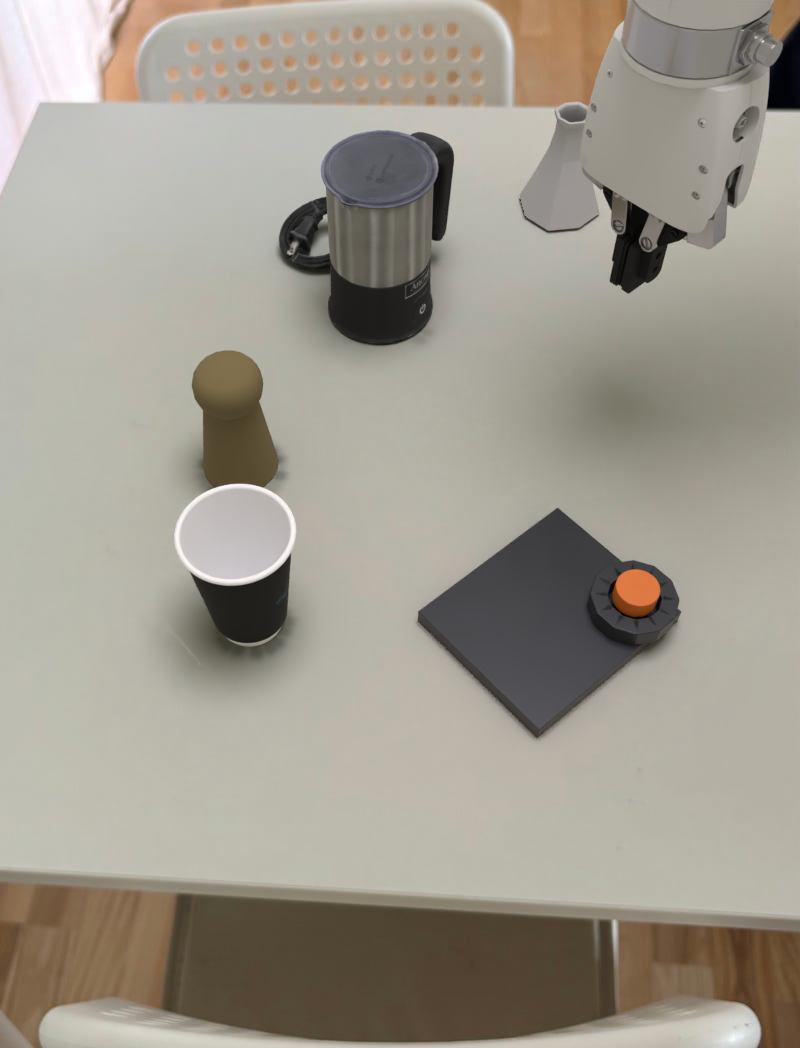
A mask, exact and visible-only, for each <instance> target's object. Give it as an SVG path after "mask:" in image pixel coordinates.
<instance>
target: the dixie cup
mask: <svg viewBox="0 0 800 1048" xmlns="http://www.w3.org/2000/svg"><path fill="white" fill-rule="evenodd" d="M174 528H175V529H174V531H173V532H174V534H173V545H174V549H175V553H176V555H177V557H178V559H179V561H180V562H181V564H182V565H183V566H184V567H185V569H186V570H188V571H189V573H190V575H191V578H192V580H193V582H194V584H195V586H196V588H197V590H198V592H199V594H200V596H201V598H202V600H203V603H204V605H205V607H206V609H207V611H208V613H209V616H210V618H211V620H212V622H213V624H214V626H215V627H216V629H217V630H218V632H219V633H220V634H221V635H222V636H224V637H225V638H226V639H227V640H228V641H230V642H231V643H233V644H235V645H238V646H242V647H256V646H260V645H263V644H266V643H267V642H269V641H271V640H272V639H274V638H275V637H276V636H277V635H278V633H280V631H281V629H282V627H283V625H284V623H285V621H286V619H287V616H288V608H289V607H288V606H289V593H290V592H289V591H290V577H291V564H292V563H291V561H292V552H293V549H294V547H295V544H296V541H297V523H296V518H295V516H294V514H293V512H292V510H291V507H290V506H288V504H287V502H286V501H285V500H283V499H282V498H281V497H280V496H279V495H277V494H276V493H275V492H273V491H271V490H270V489H267V488H265V487H259V486H255V485H250V484H229V485H224V486H219V487H214V488H211V489H207V490H206V491H205V492H202V493H201V494H200V495H198V496H196V497H195V498H193V499H192V501H190V502H189V503H188V504H187V505H186V507H184V509H183V510H182V512H181V514H180V515H179V517H178V518H177V522H176V524H175V527H174Z"/></svg>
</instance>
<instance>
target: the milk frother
mask: <svg viewBox="0 0 800 1048" xmlns="http://www.w3.org/2000/svg"><path fill="white" fill-rule="evenodd" d="M454 152H455V151H454V149H453V147H452V145H451V144H450V143H449V142H448V141H446V140H444V139H442V138H441V137H439V136H437V135H434V134H431V133H427V132H423V131H416V132H413V133H410V134H409V133H405V132H401V131H394V130H387V129H385V130H382V129H377V130H371V131H364V132H360V133H359V132H358V133H355V134H352V135H349V136H347V137H346V138H344V139H343V138H342V140H340V141H338V142H337V143H335V144H334V145H333V146H331V148H330V149H329V150H328V152H327V153H326V154H325V156H324V157H323V160H322V162H321V165H320V176H321V179H322V182H323V184H324V186H325V196H323V197H319V198H316V199H313V200H310V201H308V202H306V203H304V204H302V205H300V206H299V207H297V208H296V209H295V210H293V211H292V212H291V213H290V214H289V215H288V216H287V217H286V219H285V220H284V221H283V223H282V225H281V228H280V232H279V235H278V244H279V248H280V250H281V251H280V252H281V253H282V255H283V256H284V257H285V259H286V260H287V261H289V262H290V264H293V265H294V266H296V267H297V268H298V267H299V268H301V269H305V270H307V271H308V270H309V271H316V272H318V271H319V272H320V271H323V270H329V272H330V277H329V278H330V294H329V297H328V302H327V311H328V314H329V318H330V320H331V322H332V323H333V324H334V326H335V327H336V328H337V329H338V330H339V331H340V332H341V333H343V334H344V335H346V336H347V337H348V338H350V339H353V340H356V341H358V342H363V343H368V344H377V345H378V344H383V345H385V344H391V343H396V342H401V341H404V340H407V339H408V338H411V337H413V336H414V335H415V334H417V333H418V332H419V331H421V330H422V329H423V328H424V327H425V325H426V324H427V323H428V322H429V320H430V318H431V317H432V316H431V315H432V313H433V308H434V301H433V295H432V293H431V291H432V290H431V263H432V261H431V260H432V244H433V243H432V241H434V242H440V241H442V240H443V238H444V236H445V235H446V232H447V227H448V218H449V209H450V200H451V192H452V182H453V175H454V165H455V153H454ZM324 216H327V217H326V218H327V234H328V249H329V253H326V254H322V255H315V256H314V255H307V254H303V253H301V252H299V250H302V251H303V252H306V253H310V252H311V245H312V244H313V241H314V238H315V235H316V233H317V232H318V231H319V230H320V228H319V224H320V223H321V222H322V221H323V219H324Z"/></svg>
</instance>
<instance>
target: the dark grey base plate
mask: <svg viewBox="0 0 800 1048" xmlns="http://www.w3.org/2000/svg"><path fill="white" fill-rule="evenodd" d="M633 569H638V570H643V571H646V572H648V573H650V574H651V575H653V576H654V577H655V578H656V580H657V581H658V583H659V585H660V596H659V598H658V601H657V603H656V606H655V608H654V609H653V611H652V612H651V613H649V614H647V615H645V616H642V617H631V616H628V615H625V614H623V613H622V612H620V611H619V610H618V609H617V608H616V606H615V605H614V603H613V600H612V593H613V590H614V587H615V584H616V581H617V579H618V577H619V576H620V575H621V574H622V573H624V572H626V571H628V570H633ZM679 605H680V596H679V593H678V592H677V589H676V587H675V584H674V582H673V580H672V579H671V578H670V577H668V576H667V575H666V574H665V573H664V572H663V571H661V570H660V569H659V568H657V566H656V565H652V564H648V563H645V562H642V561H638V560H635V559H632V560H625V561H622V560H621V559H620V558H618V557H617V556H616V555H615V554H614V553H612V552H611V551H610V550H609V549H608V548H607V547H606V546H604V545H603V544H602V543H601V542H599V541H598V540H597V539H596V538H594V537H593V535H591V534H590V533H589V532H588V531H586V530H585V529H584V528H583V527H582V526H580V525H579V524H578V523H577V522H576V521H574V520H573V518H571V517H569V516H568V514H567V513H565V512H564V511H563V510H561V509H560V508H559V507H556V508H555V509H553V510H552V511H550V512H549V513H548V514H547V515H545V516H544V517H542V519H540V520H539V521H537V522H536V523H534V524H533V525H532V526H531V527H529V528H528V529H527V530H525V531H524V532H522V533H521V534H520V535H519V536H517V537H516V538H514V539H513V540H512V541H511V542H509V543H508V544H506V545H505V546H504V547H503V548H501V549H500V550H498V551H497V552H496V553H494V554H493V555H492V556H490V557H489V558H487V560H485V561H483V562H482V563H481V564H480V565H479V566H477V567H475V569H473V570H472V571H470V572H469V573H468V574H466V575H465V576H463V577H462V578H461V579H459V580H458V581H457V582H455V583H454V584H453V585H451V586H450V587H449V588H448V589H446V590H445V591H443V592H442V593H441V594H439V595H438V596H437V597H435V598H434V599H433V600H432V601H430V602H429V603H427V604H426V605H424V606H423V607H422V608H421V609H420V610H418V611H417V622H418V623H419V624H420V625H421V626H422V627H423V628H424V629H425V630H426V631H427V632H428V633H429V634H430V635H431V636H432V637H433V638H434V639H435V640H437V642H438V643H440V644H441V645H442V647H444V648H445V649H446V651H448V652H449V654H451V655H452V656H453V657H454V658H455V659H456V660H457V661H458V662H459V663H460V664H461V665H462V666H463V667H464V668H465V669H466V670H467V671H468V672H469V673H470V674H471V676H473V677H474V678H475V679H477V681H478V682H479V683H480V684H482V686H483V687H484V688H485V689H487V691H488V692H489V693H491V695H492V696H493V697H494V698H495V699H496V700H497V701H499V703H501V704H502V705H503V706H504V708H506V710H507V711H508V712H510V713H511V714H512V715H513V716H514V717H515V718H516V719H517V720H518V722H520V723H521V724H522V725H523V726H524V727H525V728H526V729H527V730H528V731H529V732H530V733H531V734H532V735H533V736H534V737H535V738H536V739H538V738H540V736H542V735H543V734H545V732H547V731H548V730H549V729H550V728H551V727H553V726H554V725H555V724H556V723H558V721H560V720H561V719H562V718H563V717H564V716H566V715H567V714H569V712H571V711H572V710H573V709H575V707H577V706H578V705H579V704H580V703H581V702H582V701H584V700H585V699H586V698H587V697H588V696H590V695H591V694H592V693H593V692H594V691H596V690H597V689H598V688H599V687H601V686H602V685H603V684H604V683H605V682H607V681H608V680H609V679H610V678H611V677H612V676H614V675H615V674H616V673H617V672H619V671H620V670H621V669H622V668H623V667H625V666H626V665H627V664H628V663H629V662H631V660H633V659H634V658H635V657H637V656H638V655H639V654H640V653H642V651H644V650H645V649H647V647H649V646H650V645H651V644H652V643H655V642H657V641H658V640H659V639H661V638H662V637H663V636H664V635H666V634H667V633H668V632H669V631H670V630H671V629H672V627H673V626H674V625H675V624H676V623H678V620H679V618H680V616H681V614H682V611H681V610H680V609H679Z"/></svg>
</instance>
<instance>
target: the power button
mask: <svg viewBox="0 0 800 1048" xmlns="http://www.w3.org/2000/svg"><path fill="white" fill-rule="evenodd" d="M659 596H660V585H659V583H658V581H657V580H656V578H655V577H654V576H653V575H651V574H650V573H648V572H646V571H643V570H638V569H633V570H628V571H626V572H624V573H622V574H621V575H620V576H619V577H618V579H617V581H616V584H615V587H614V590H613V593H612V600H613V603H614V605H615V606H616V608H617V609H618V610H619V611H620V612H622V613H623V614H625V615H628V616H631V617H642V616H645V615H647V614H649V613H651V612H652V611H653V609H654V608H655V606H656V603H657V601H658V598H659Z"/></svg>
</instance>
